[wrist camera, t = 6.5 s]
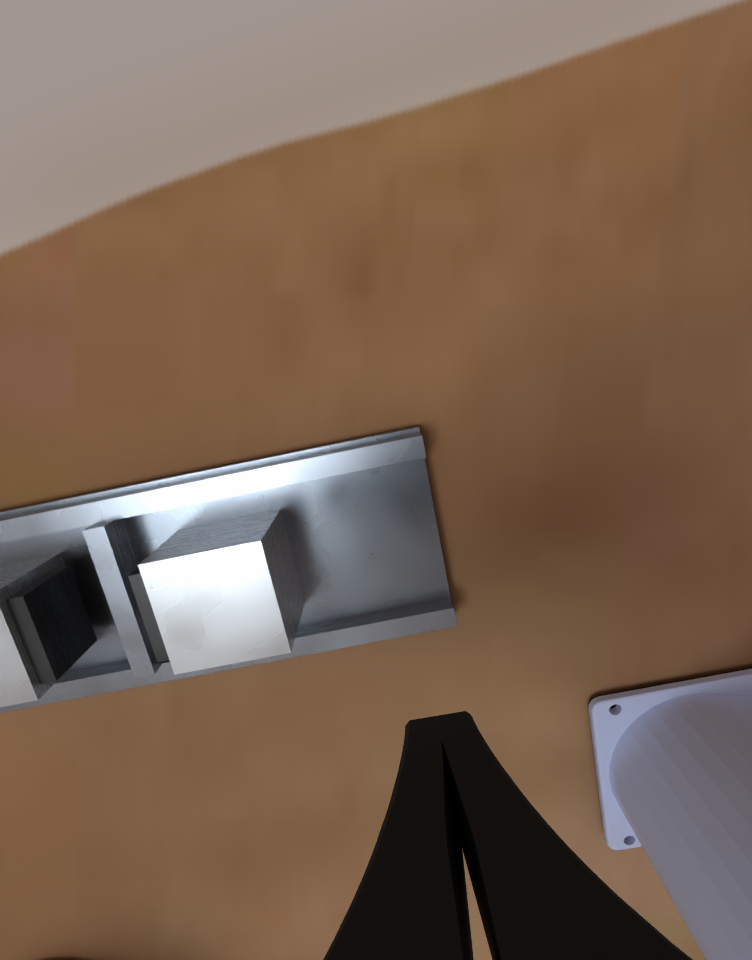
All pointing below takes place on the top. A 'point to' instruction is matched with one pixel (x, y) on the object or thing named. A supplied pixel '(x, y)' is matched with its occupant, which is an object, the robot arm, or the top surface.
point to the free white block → (220, 593)
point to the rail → (206, 499)
